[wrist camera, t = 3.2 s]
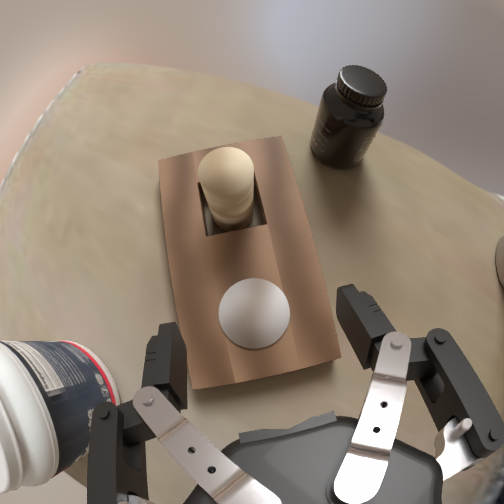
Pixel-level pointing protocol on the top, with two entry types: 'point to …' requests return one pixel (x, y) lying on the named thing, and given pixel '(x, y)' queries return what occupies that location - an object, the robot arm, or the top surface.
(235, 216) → the birch peg
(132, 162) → the top surface
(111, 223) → the top surface
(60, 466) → the supplement tub
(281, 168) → the walnut board
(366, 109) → the supplement bottle
